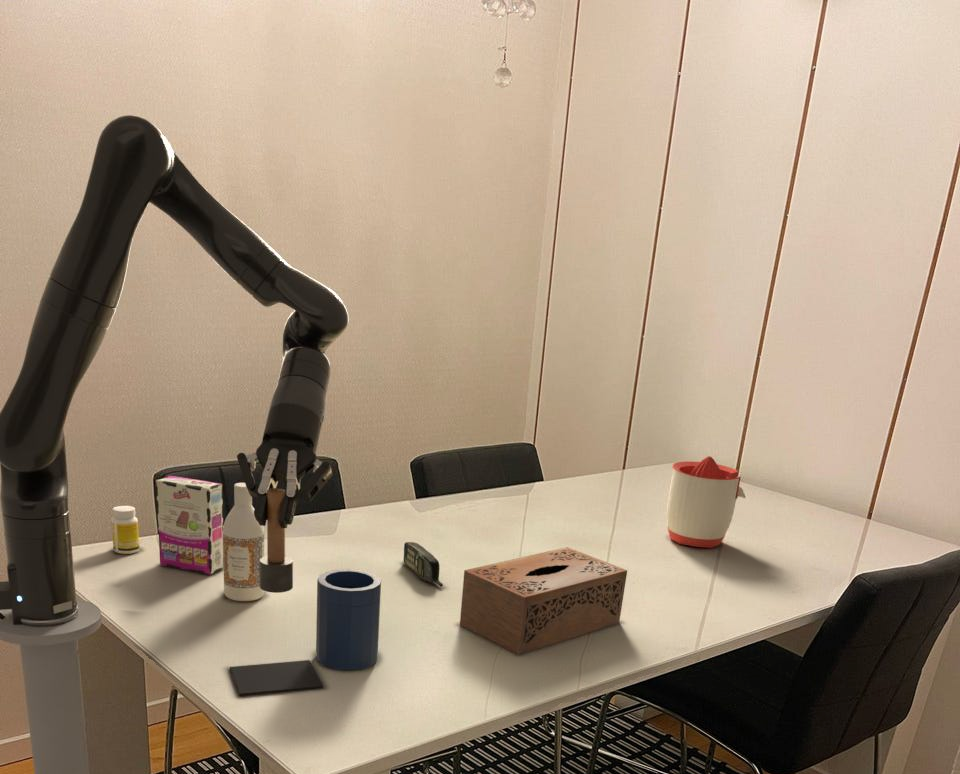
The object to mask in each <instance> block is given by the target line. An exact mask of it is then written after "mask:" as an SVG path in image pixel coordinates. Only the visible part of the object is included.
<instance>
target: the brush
mask: <svg viewBox="0 0 960 774" xmlns="http://www.w3.org/2000/svg"><path fill="white" fill-rule="evenodd" d="M284 497H285V498H286V490H285V489H284V488H278V487H276V488H272V489H268V490H267V521H266V532H267V533H266V535H267V537H266V541H267V543H266V544H267V545H266V547H267V548H266V549H267V550H266V551H267V552H266V555H264V557H262V558H261V559H260V560H259V575H260V588H261V589H262V590H264V592H268V593H272V594H273V593H275V594H277V593H280V594H281V593H286V592H289V591H291V590H292V589H293V587H294V561H293V558H291V557H289V556H288V555H287V556H286V528H281V526H280V524H279V517H280V512H281V508H282V503H283V499H284Z"/></svg>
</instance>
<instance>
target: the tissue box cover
mask: <svg viewBox="0 0 960 774" xmlns="http://www.w3.org/2000/svg"><path fill="white" fill-rule="evenodd" d="M627 575H628V569H624V568H622V567H619V566H616V565H615V564H612V563H609V562H607V561H604V560H601V559H599V558H597V557H594V556H592V555H588V554H586V553H583V552H580V551H578V550H576V549H573V548H570V547H568V546H567V547H562V548H557V549H553V550H548V551H543V552H539V553H535V554H530V555H527V556H522V557H518V558H512V559H509V560H504V561H500V562H495V563H490V564H486V565H482V566H478V567H472V568H469V569H464V571H463V581H462V593H461V606H460V617H459V626H461V627H463V628H465V629H467V630H469V631H471V632H473V633H475V634H477V635H478V636H481V637H482V638H485V639H486V640H489V641H491V642H493V643H495V644H497V645H498V646H501V647H503V648H505V649H507V650H509V651H511V652H512V653H514V654H517V655H521V654H525V653H528V652H532V651H535V650H537V649H540V648H544V647H547V646H550V645H554V644H557V643H560V642H563V641H566V640H570V639H572V638H575V637H578V636H579V637H580V636H582V635H585V634H588V633H592V632H594V631H597V630H598V631H599V630H601V629H605V628H608V627H610V626H613V625H616V624H619V623H620V621H621V614H622V608H623V602H624V594H625V589H626V588H625V587H626V583H627Z"/></svg>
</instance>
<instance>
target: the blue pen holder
mask: <svg viewBox="0 0 960 774" xmlns="http://www.w3.org/2000/svg"><path fill="white" fill-rule="evenodd" d="M316 582H317V585H316V627H315V629H316V633H315V635H316V636H315V637H316V638H315V652H316V654H315V655H316V656H315V657H316V660H317V662H318V663H319V664H320V665H322V666H324V667H326V668H328V669H331V670H337V671H346V672H348V671H351V672H352V671H361V670H365V669H367V668H370V667H372V666H373V665H375V664H376V662H377V661H378V652H379V637H380V617H381V616H380V615H381V596H382V594H381V593H382V592H381V591H382V579H381V578H380V576H378V575H376V574H374V573H372V572H369V571H365V570H360V569H351V568H342V569H340V568H339V569H333V570H328V571H325V572H323V573H321V574H319V575H318V577H317V580H316Z"/></svg>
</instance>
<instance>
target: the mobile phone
mask: <svg viewBox="0 0 960 774" xmlns="http://www.w3.org/2000/svg"><path fill="white" fill-rule="evenodd" d="M403 564H404V565H406V566H407V567H408V568H409V569H410V570H412V571H413V573H415V574H416V575H417V576H418V577H419V578H420V579H421V580H423V581H425V582H428V583H435V584H436V585H437V586H439V587H440V588H441V587H443V586H444V584H443V583H442V582H441V581H440V561H439V560H438V559H437V558H436V557H435V556H434V555H433V553H431V552H430V551H429V550H427V549H426V548H425V547H423V546H422V545H420V544H419V543H418V542H414V541H406V542H404V545H403Z"/></svg>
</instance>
